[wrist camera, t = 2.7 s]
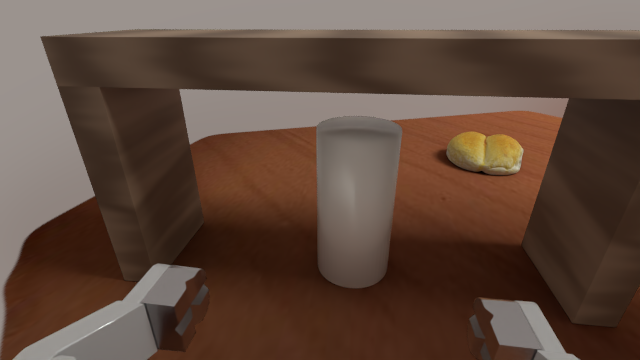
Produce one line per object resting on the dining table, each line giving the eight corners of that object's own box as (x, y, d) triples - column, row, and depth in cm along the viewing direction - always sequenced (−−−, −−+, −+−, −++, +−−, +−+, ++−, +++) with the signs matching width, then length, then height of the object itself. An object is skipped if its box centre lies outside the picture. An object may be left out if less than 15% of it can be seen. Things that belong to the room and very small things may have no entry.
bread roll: (452, 147, 49) (457, 121, 48) (521, 160, 45) (529, 131, 43) (437, 167, 43) (442, 137, 41) (516, 183, 39) (526, 151, 37)
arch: (553, 247, 28) (635, 30, 21) (616, 327, 21) (775, 40, 14) (179, 220, 32) (135, 29, 24) (124, 280, 25) (40, 36, 17)
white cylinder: (385, 244, 28) (398, 117, 24) (388, 291, 24) (406, 144, 19) (322, 239, 29) (321, 114, 24) (312, 284, 24) (310, 140, 19)
